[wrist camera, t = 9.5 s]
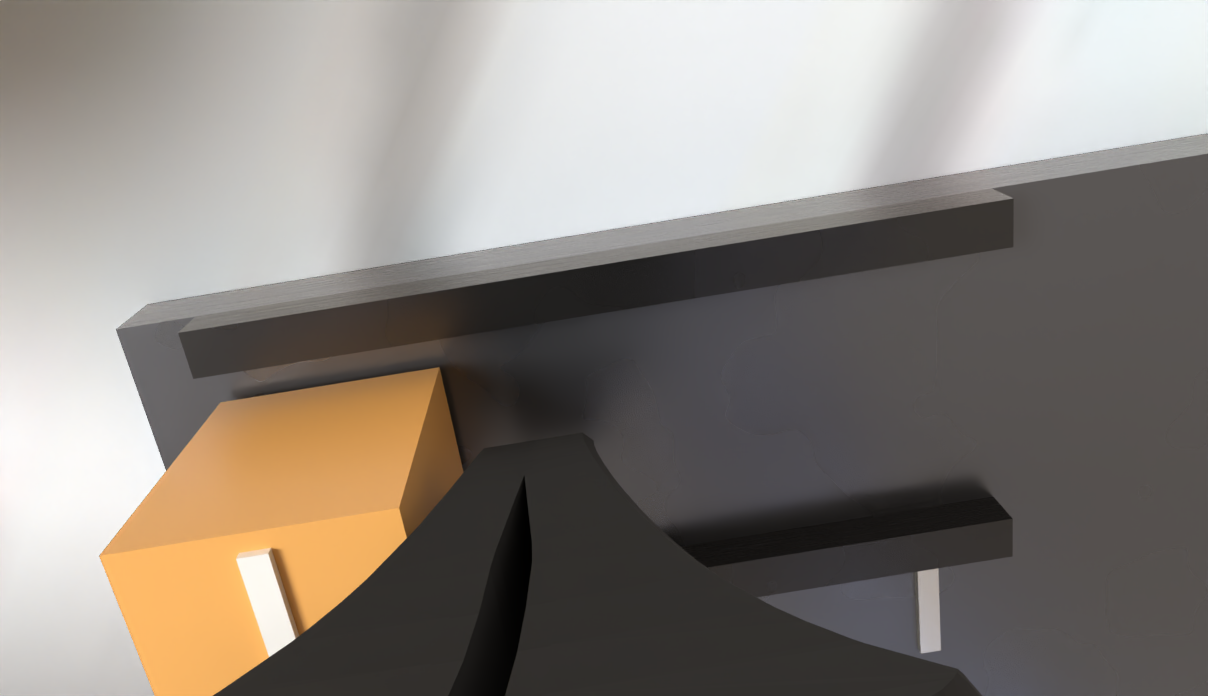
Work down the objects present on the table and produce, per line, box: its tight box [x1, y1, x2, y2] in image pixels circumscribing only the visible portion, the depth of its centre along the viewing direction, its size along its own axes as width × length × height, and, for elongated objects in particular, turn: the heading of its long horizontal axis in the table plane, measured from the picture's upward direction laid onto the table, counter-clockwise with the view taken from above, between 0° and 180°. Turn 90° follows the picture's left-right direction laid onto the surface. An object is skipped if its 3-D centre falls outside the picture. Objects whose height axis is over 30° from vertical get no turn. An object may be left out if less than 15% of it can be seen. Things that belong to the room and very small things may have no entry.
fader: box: [99, 367, 463, 696], centre depth 11 cm, size 3×3×4 cm
